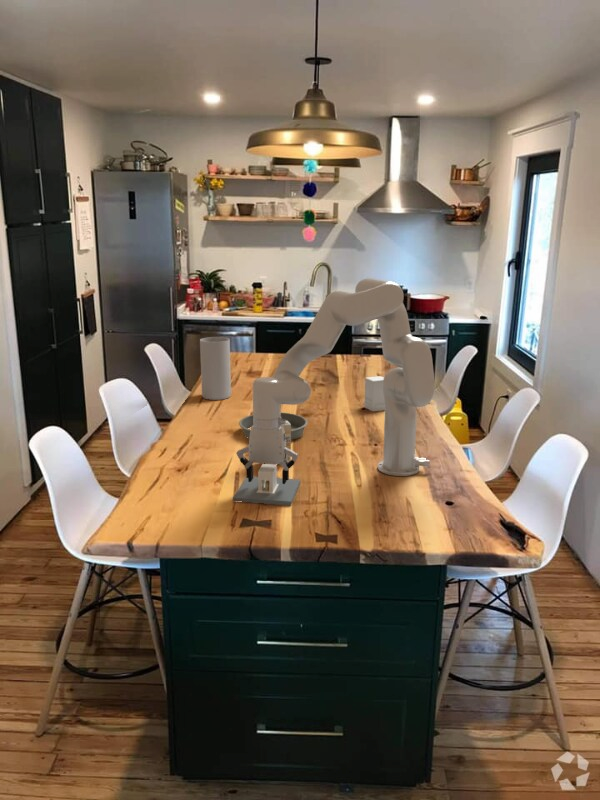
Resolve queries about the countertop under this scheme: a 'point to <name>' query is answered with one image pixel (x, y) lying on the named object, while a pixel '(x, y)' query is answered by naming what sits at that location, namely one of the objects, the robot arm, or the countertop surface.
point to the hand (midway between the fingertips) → (267, 481)
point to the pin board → (268, 492)
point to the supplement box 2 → (374, 393)
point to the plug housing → (267, 477)
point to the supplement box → (287, 438)
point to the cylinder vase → (215, 368)
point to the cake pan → (294, 420)
